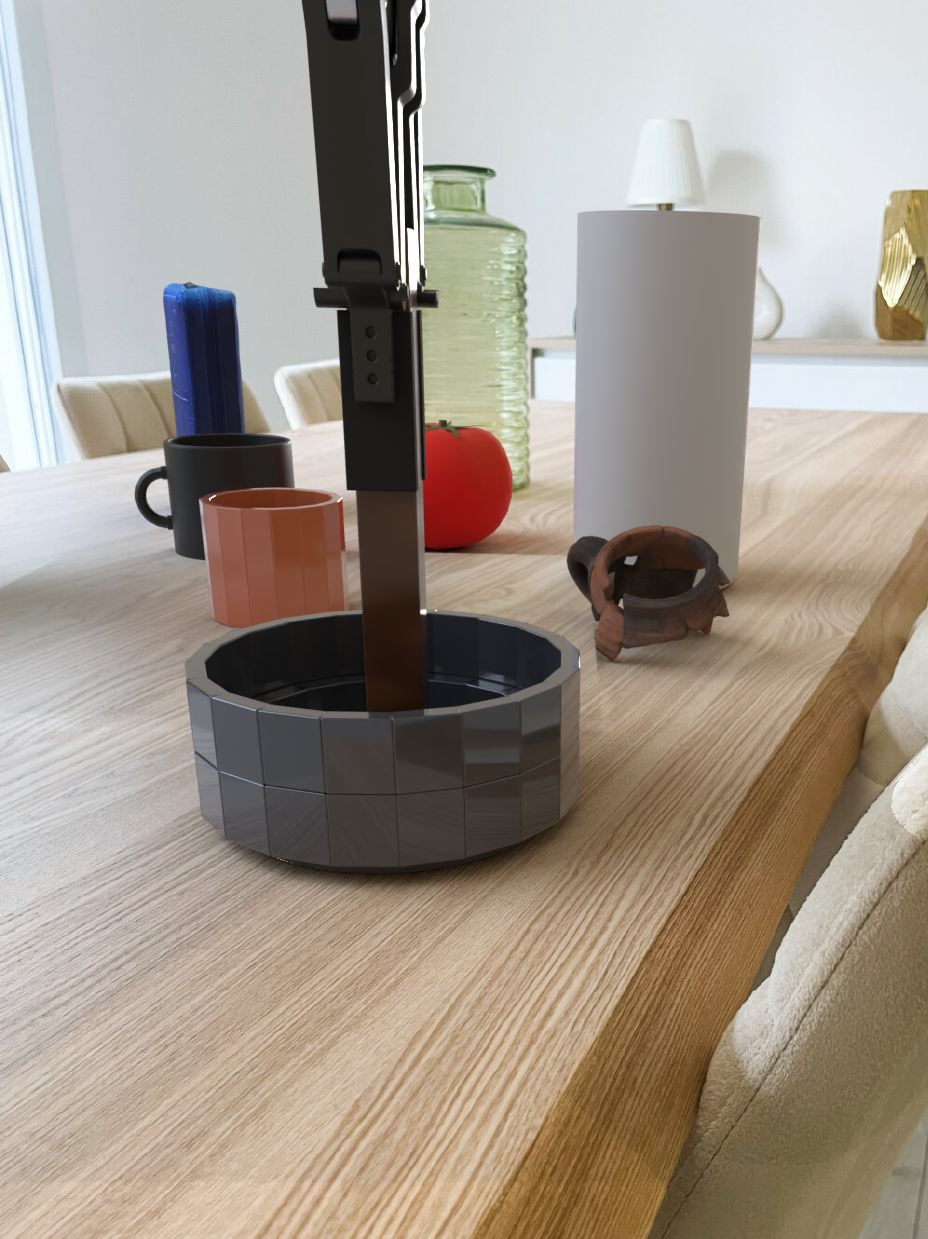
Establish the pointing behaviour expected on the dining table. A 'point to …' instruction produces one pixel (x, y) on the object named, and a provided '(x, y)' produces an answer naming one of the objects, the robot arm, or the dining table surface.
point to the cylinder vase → (664, 373)
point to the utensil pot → (273, 554)
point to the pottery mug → (648, 586)
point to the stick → (395, 572)
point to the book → (204, 359)
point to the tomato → (463, 485)
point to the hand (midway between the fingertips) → (388, 482)
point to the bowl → (384, 742)
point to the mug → (212, 478)
